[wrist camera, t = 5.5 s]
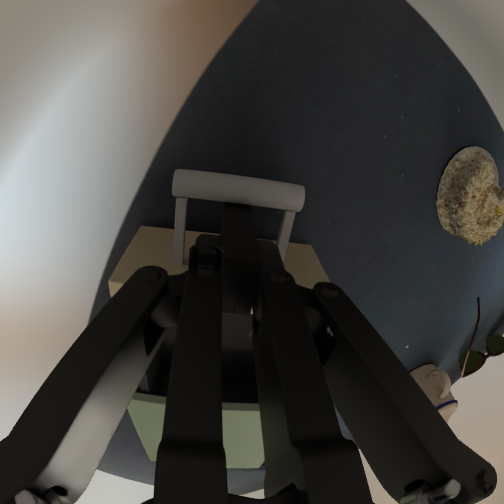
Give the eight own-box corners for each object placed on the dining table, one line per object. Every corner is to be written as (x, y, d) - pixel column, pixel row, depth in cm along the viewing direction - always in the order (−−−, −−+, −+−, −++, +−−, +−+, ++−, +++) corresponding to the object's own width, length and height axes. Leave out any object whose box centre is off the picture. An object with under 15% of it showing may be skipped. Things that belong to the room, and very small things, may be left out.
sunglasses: (449, 360, 37) (462, 379, 32) (466, 295, 31) (485, 315, 26) (501, 329, 36) (514, 344, 31) (519, 265, 30) (537, 280, 25)
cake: (466, 244, 25) (492, 272, 21) (416, 211, 23) (446, 242, 19) (506, 175, 20) (537, 196, 16) (462, 125, 18) (501, 142, 14)
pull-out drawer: (143, 150, 18) (99, 178, 11) (330, 175, 19) (375, 214, 13) (151, 366, 29) (141, 421, 22) (267, 376, 31) (275, 430, 24)
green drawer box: (143, 322, 26) (123, 397, 19) (284, 335, 28) (300, 410, 21) (157, 407, 35) (150, 460, 27) (253, 415, 37) (259, 468, 30)
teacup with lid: (424, 386, 40) (447, 434, 30) (384, 399, 40) (405, 453, 30) (451, 344, 34) (484, 398, 24) (408, 358, 34) (440, 421, 24)
